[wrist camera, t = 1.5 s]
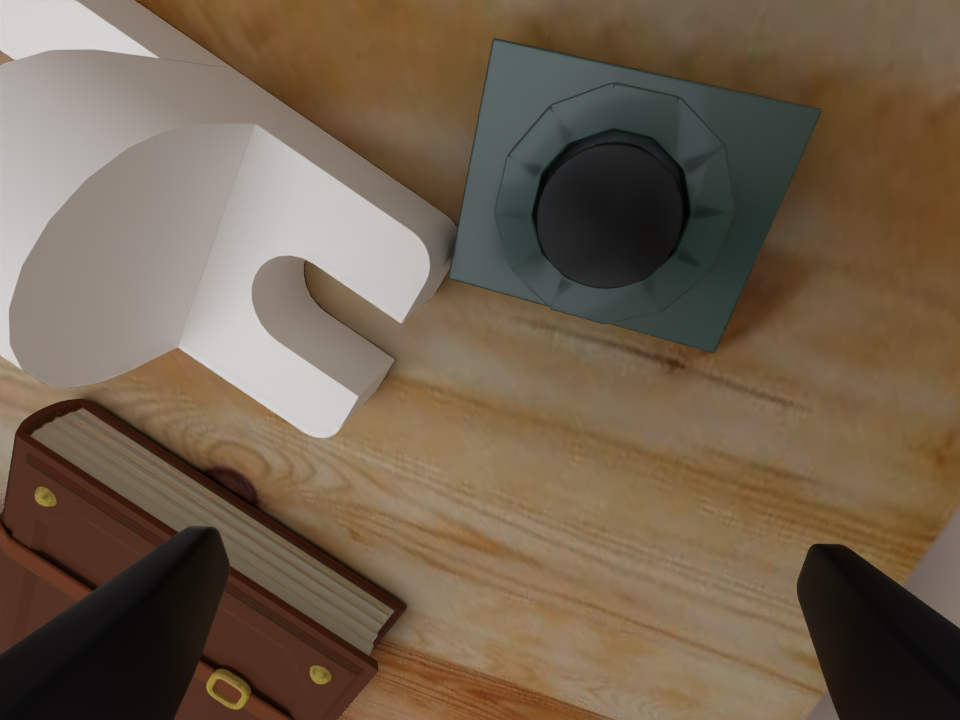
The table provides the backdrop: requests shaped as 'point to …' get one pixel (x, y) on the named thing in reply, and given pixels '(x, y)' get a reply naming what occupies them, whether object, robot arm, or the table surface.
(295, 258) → the bracket
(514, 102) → the button box
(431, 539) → the table surface
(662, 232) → the button
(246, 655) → the book
